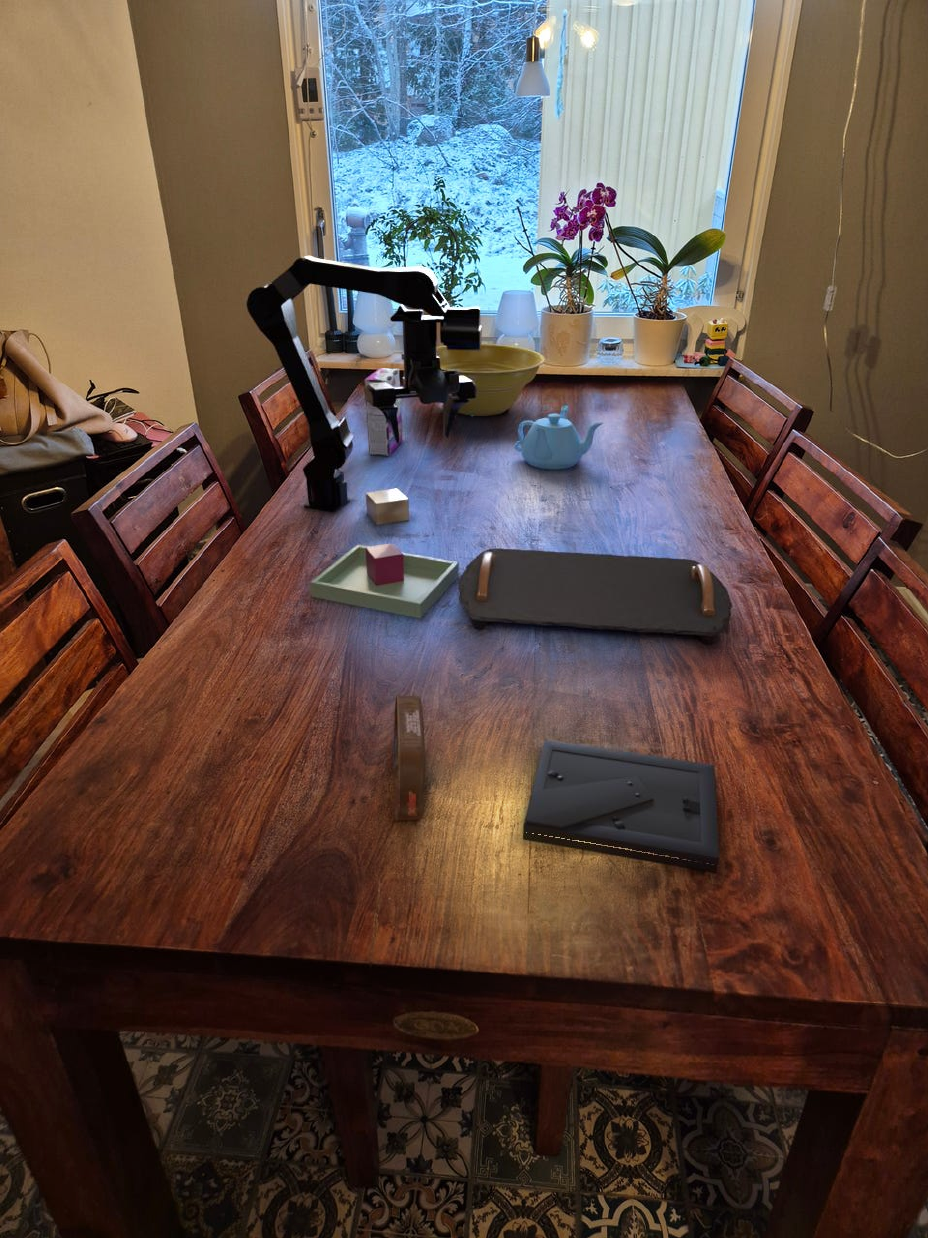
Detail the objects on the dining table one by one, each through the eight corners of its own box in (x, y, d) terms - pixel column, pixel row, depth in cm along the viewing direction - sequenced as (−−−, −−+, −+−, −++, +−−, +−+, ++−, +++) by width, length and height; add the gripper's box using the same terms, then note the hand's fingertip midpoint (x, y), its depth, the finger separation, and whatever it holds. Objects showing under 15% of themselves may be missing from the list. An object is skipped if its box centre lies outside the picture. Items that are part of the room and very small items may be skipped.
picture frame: (522, 839, 77) (716, 873, 74) (523, 822, 76) (720, 855, 73) (543, 753, 89) (711, 779, 85) (544, 736, 88) (715, 762, 84)
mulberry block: (376, 586, 122) (374, 558, 120) (366, 573, 126) (365, 547, 123) (404, 580, 124) (403, 553, 121) (394, 568, 127) (393, 542, 125)
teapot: (506, 455, 179) (507, 408, 173) (567, 447, 183) (570, 402, 178) (536, 477, 167) (538, 427, 162) (600, 468, 172) (604, 419, 167)
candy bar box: (381, 440, 187) (378, 367, 179) (403, 441, 187) (400, 368, 179) (367, 455, 178) (363, 378, 170) (389, 456, 177) (386, 379, 169)
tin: (393, 742, 90) (390, 678, 86) (421, 740, 90) (420, 677, 86) (394, 840, 77) (391, 771, 73) (427, 838, 77) (426, 769, 73)
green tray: (311, 596, 120) (309, 582, 119) (357, 557, 132) (356, 544, 131) (420, 618, 115) (420, 603, 113) (458, 576, 126) (458, 562, 125)
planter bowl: (546, 427, 197) (549, 371, 191) (413, 426, 198) (412, 369, 191) (537, 394, 225) (540, 344, 219) (421, 392, 226) (420, 342, 219)
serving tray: (714, 577, 127) (721, 540, 124) (741, 655, 107) (749, 613, 104) (467, 562, 131) (468, 526, 128) (448, 635, 111) (448, 594, 108)
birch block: (377, 524, 144) (376, 503, 142) (366, 513, 149) (365, 492, 147) (409, 520, 146) (408, 498, 144) (397, 508, 151) (397, 487, 149)
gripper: (380, 362, 128) (384, 459, 135) (490, 354, 134) (488, 447, 141) (361, 349, 137) (366, 440, 144) (464, 342, 143) (464, 430, 150)
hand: (421, 439), depth 145 cm, fingers open, 9 cm apart
